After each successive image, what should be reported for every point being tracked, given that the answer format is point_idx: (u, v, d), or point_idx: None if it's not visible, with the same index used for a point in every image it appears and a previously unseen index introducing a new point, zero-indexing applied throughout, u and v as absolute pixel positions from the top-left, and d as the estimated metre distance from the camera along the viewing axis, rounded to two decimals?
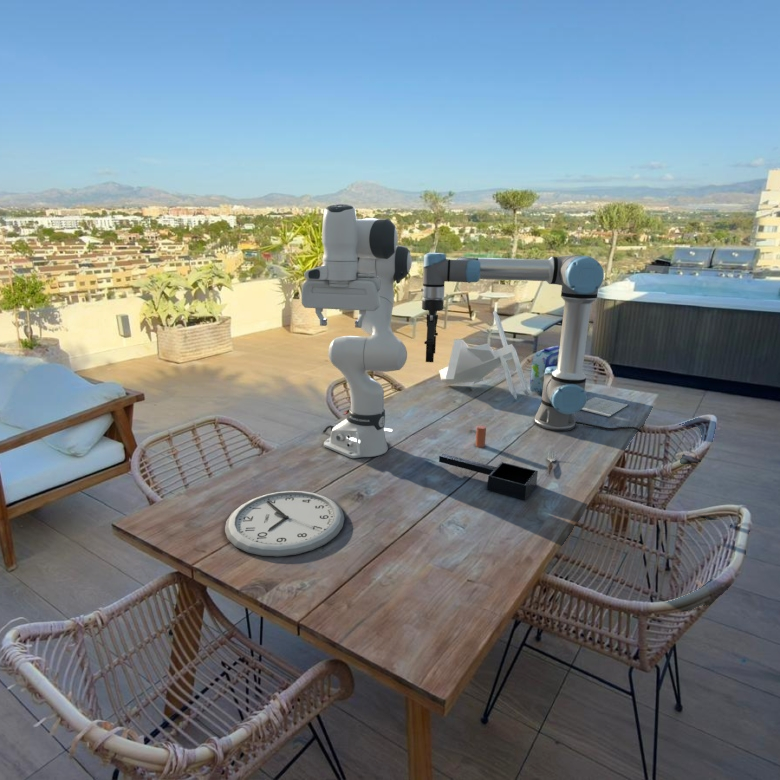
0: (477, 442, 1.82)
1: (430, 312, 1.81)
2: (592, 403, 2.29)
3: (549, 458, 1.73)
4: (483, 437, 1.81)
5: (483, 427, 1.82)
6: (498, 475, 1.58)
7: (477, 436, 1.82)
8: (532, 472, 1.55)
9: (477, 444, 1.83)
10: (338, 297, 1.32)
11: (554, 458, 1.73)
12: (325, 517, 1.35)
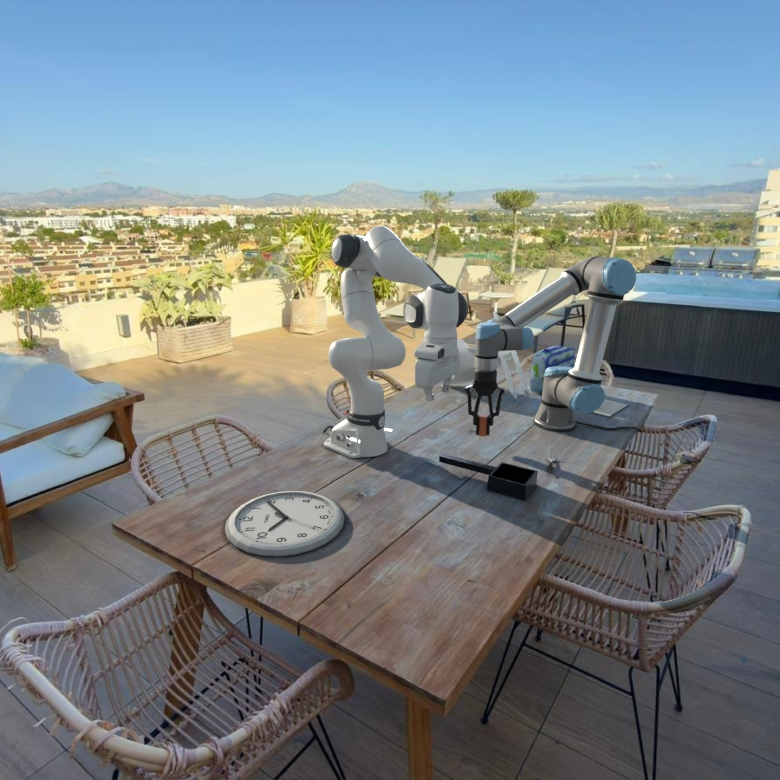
0: (479, 431, 1.81)
1: None
2: None
3: (549, 458, 1.73)
4: (485, 426, 1.80)
5: (484, 416, 1.80)
6: (498, 475, 1.58)
7: (479, 425, 1.81)
8: (532, 472, 1.55)
9: (479, 433, 1.81)
10: (444, 369, 1.39)
11: (554, 458, 1.73)
12: (325, 517, 1.35)
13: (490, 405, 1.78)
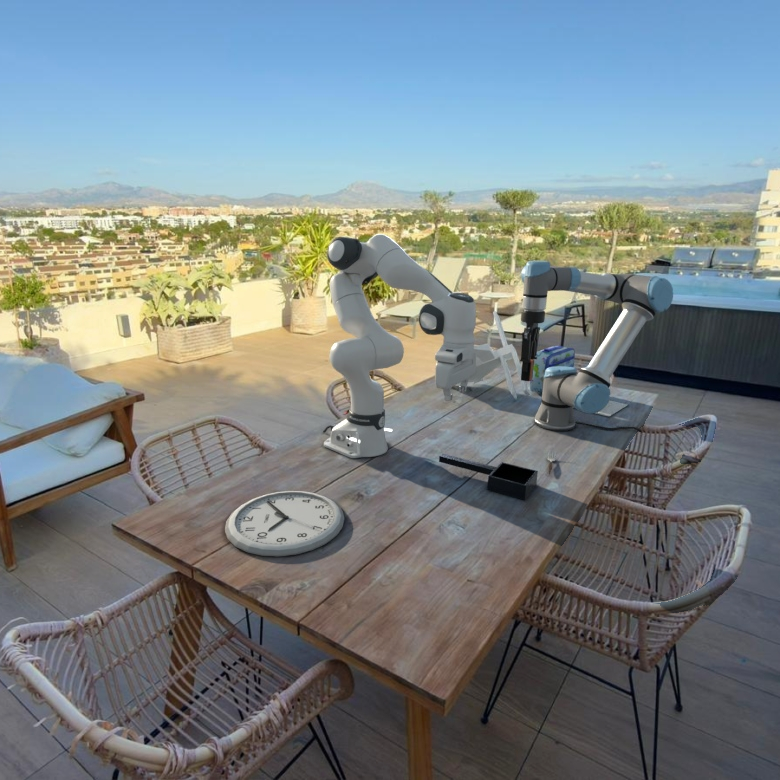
0: None
1: (527, 324, 1.68)
2: None
3: (549, 458, 1.73)
4: None
5: None
6: (498, 475, 1.58)
7: None
8: (532, 472, 1.55)
9: None
10: (462, 372, 1.51)
11: (554, 458, 1.73)
12: (325, 517, 1.35)
13: (535, 346, 1.75)
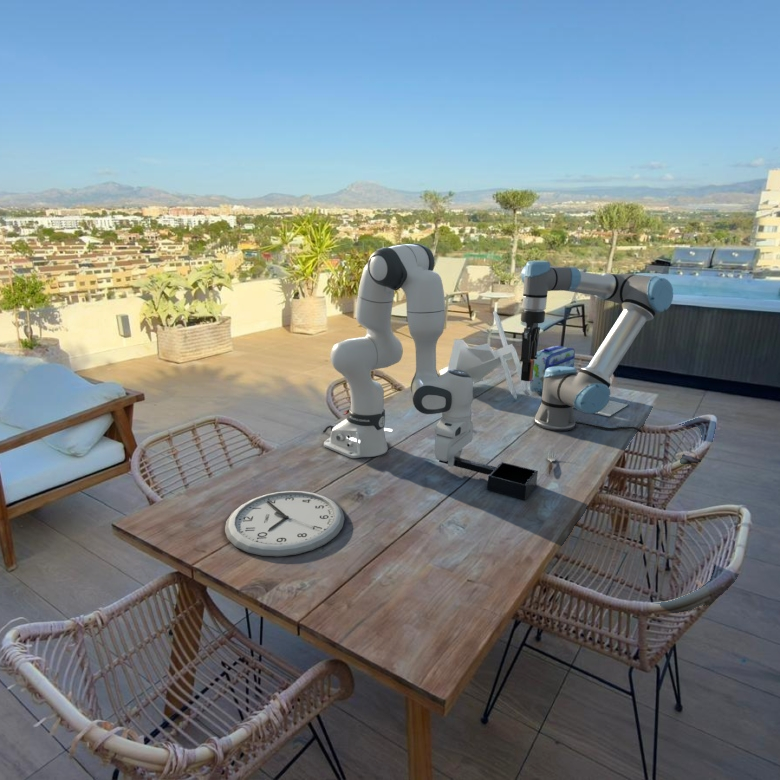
0: None
1: (527, 324, 1.68)
2: None
3: (549, 458, 1.73)
4: None
5: None
6: (498, 475, 1.58)
7: None
8: (532, 472, 1.55)
9: None
10: (460, 442, 1.60)
11: (554, 458, 1.73)
12: (325, 517, 1.35)
13: (535, 346, 1.75)
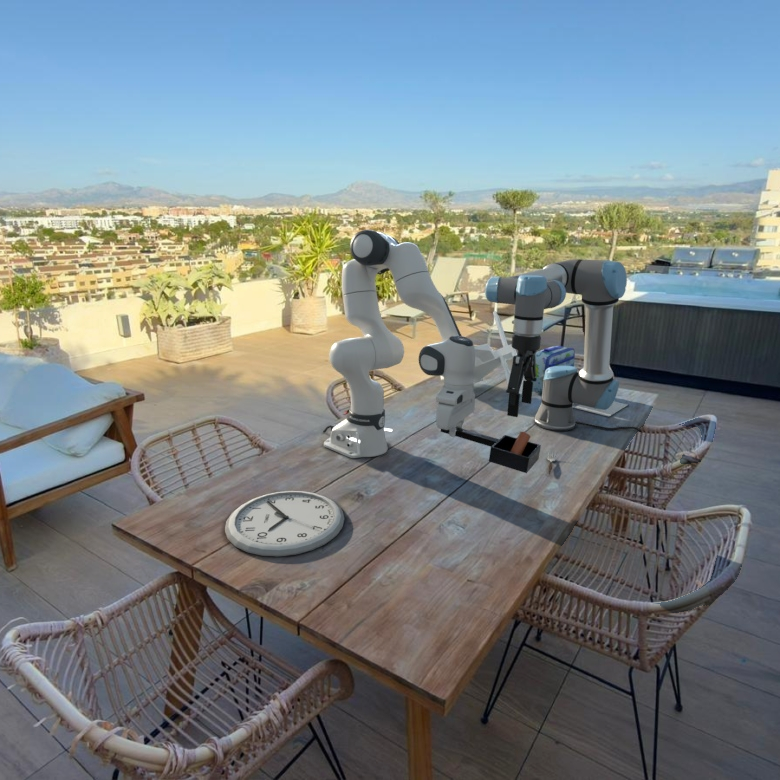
0: (520, 450, 1.51)
1: (519, 352, 1.39)
2: None
3: (549, 458, 1.73)
4: None
5: None
6: (500, 447, 1.55)
7: (523, 443, 1.51)
8: (535, 446, 1.53)
9: (519, 452, 1.50)
10: (462, 411, 1.57)
11: (554, 458, 1.73)
12: (325, 517, 1.35)
13: (532, 371, 1.48)
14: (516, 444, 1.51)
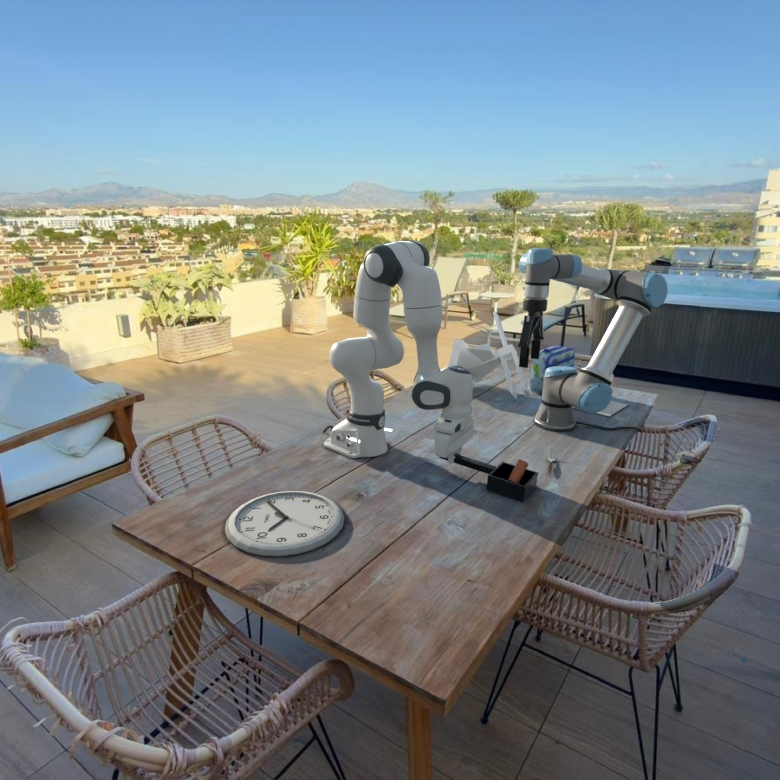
0: (518, 478, 1.52)
1: (529, 313, 1.65)
2: None
3: (549, 458, 1.73)
4: None
5: None
6: (498, 475, 1.57)
7: (521, 471, 1.53)
8: (532, 473, 1.54)
9: (517, 481, 1.52)
10: (460, 439, 1.59)
11: (554, 458, 1.73)
12: (325, 517, 1.35)
13: (540, 330, 1.74)
14: (514, 472, 1.53)
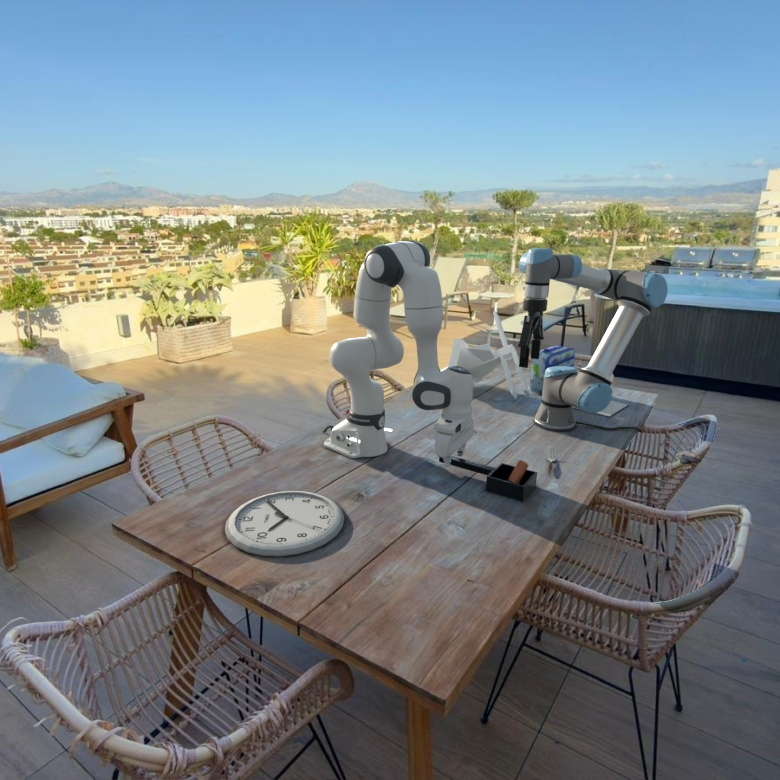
0: (518, 479, 1.52)
1: (529, 313, 1.65)
2: None
3: (549, 458, 1.73)
4: None
5: None
6: (497, 476, 1.57)
7: (521, 472, 1.53)
8: (532, 473, 1.54)
9: (517, 481, 1.52)
10: (460, 439, 1.59)
11: (554, 458, 1.73)
12: (325, 517, 1.35)
13: (540, 330, 1.74)
14: (514, 473, 1.53)
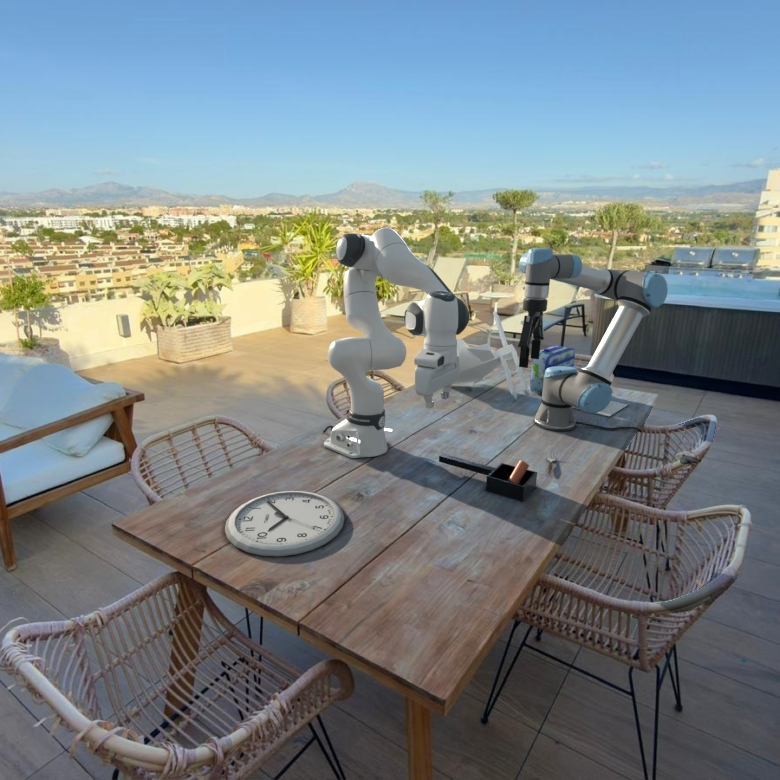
0: (518, 479, 1.52)
1: (529, 313, 1.65)
2: None
3: (549, 458, 1.73)
4: None
5: None
6: (497, 476, 1.57)
7: (521, 472, 1.53)
8: (531, 473, 1.54)
9: (517, 481, 1.52)
10: (444, 377, 1.40)
11: (554, 458, 1.73)
12: (325, 517, 1.35)
13: (540, 330, 1.74)
14: (514, 473, 1.53)
